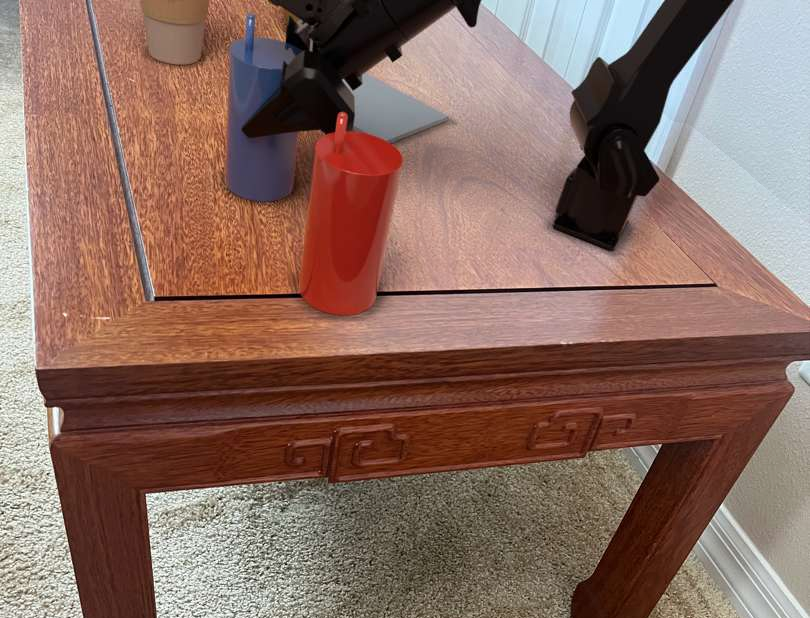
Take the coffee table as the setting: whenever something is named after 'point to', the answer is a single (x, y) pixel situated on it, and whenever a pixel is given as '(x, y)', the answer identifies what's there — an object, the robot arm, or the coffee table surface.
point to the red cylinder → (348, 219)
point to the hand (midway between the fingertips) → (247, 115)
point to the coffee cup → (175, 29)
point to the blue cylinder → (247, 90)
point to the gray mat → (390, 111)
